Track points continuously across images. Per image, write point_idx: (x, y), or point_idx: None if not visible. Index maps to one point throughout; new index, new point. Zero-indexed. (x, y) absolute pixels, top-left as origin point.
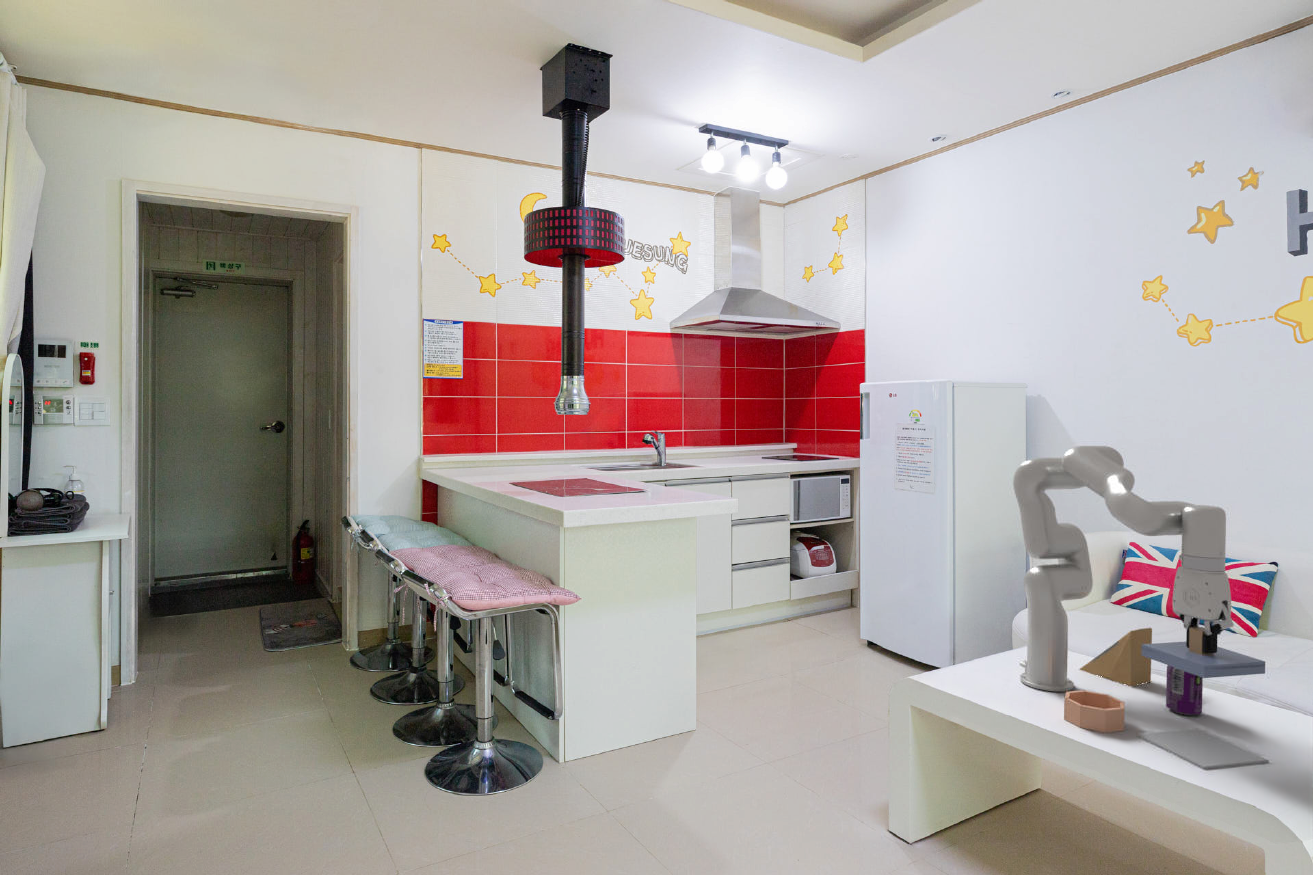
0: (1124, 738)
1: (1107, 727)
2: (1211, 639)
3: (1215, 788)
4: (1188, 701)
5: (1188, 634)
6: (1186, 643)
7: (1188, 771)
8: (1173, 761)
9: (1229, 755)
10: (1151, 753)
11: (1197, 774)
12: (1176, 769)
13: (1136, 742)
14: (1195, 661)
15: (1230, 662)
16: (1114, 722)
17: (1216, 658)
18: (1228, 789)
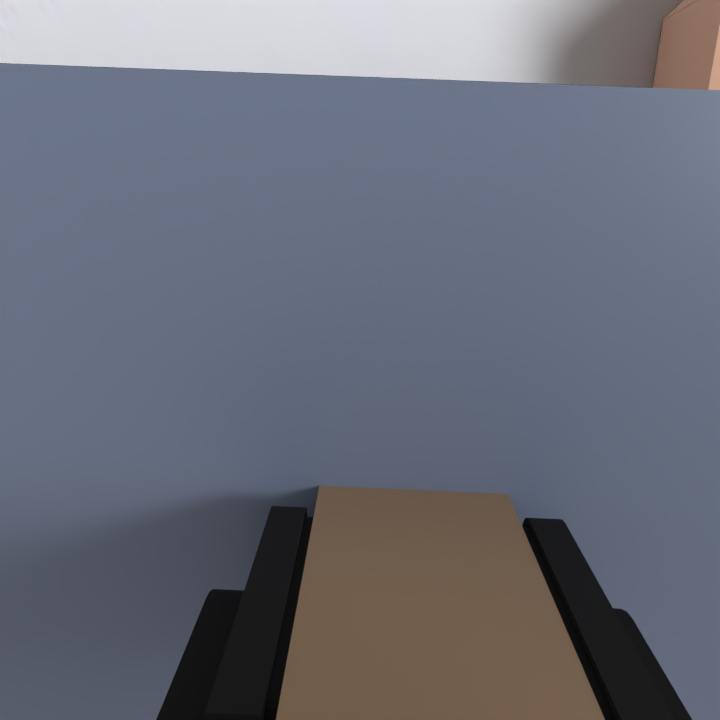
0: (574, 61)
1: (671, 29)
2: (168, 713)
3: (54, 9)
4: None
5: (593, 652)
6: (571, 540)
7: (211, 45)
8: (308, 72)
9: None
10: (401, 42)
11: (179, 59)
12: (237, 5)
13: (519, 82)
14: (81, 126)
15: (5, 539)
16: (676, 74)
17: (167, 528)
18: (40, 61)
